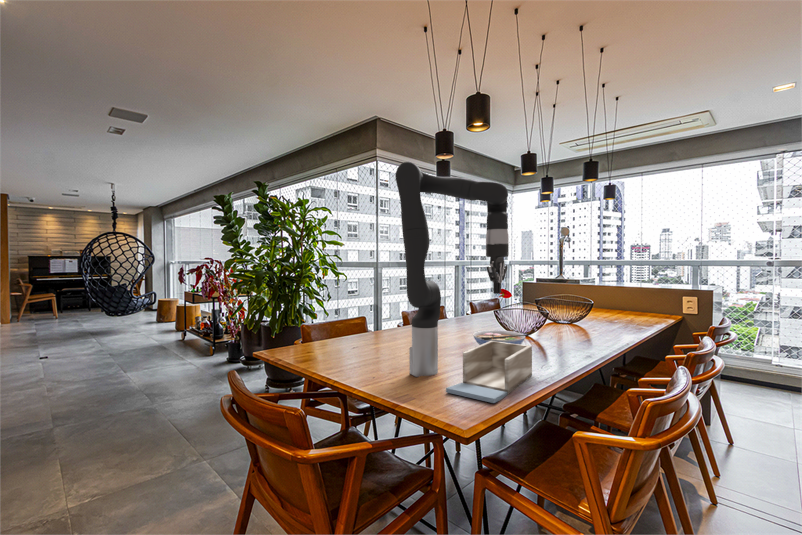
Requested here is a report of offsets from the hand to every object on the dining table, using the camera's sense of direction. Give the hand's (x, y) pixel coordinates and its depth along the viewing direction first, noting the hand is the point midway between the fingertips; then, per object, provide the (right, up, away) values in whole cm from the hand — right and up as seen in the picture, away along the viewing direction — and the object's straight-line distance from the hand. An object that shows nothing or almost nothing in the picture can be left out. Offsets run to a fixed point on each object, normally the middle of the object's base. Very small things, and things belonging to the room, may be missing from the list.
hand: (497, 293), depth 129 cm
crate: (-1, -29, -5) cm, 30 cm away
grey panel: (-8, -28, -14) cm, 33 cm away
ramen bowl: (+10, -29, +38) cm, 49 cm away
